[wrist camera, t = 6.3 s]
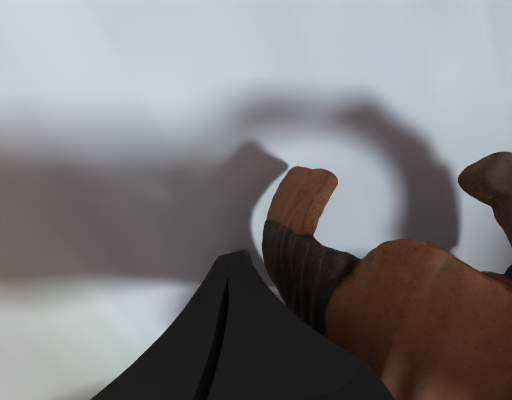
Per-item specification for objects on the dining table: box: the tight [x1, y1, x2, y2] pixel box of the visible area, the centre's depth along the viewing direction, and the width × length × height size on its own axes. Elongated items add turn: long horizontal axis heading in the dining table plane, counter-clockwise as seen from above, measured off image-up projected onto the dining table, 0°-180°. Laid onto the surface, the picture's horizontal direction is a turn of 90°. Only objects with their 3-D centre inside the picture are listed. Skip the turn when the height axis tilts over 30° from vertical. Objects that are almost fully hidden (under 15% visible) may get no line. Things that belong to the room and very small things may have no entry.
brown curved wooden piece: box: [262, 152, 512, 400], centre depth 9 cm, size 12×9×8 cm
